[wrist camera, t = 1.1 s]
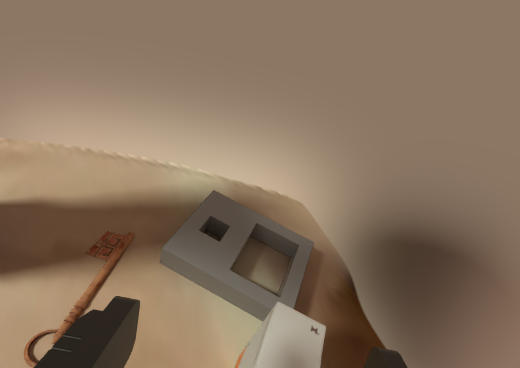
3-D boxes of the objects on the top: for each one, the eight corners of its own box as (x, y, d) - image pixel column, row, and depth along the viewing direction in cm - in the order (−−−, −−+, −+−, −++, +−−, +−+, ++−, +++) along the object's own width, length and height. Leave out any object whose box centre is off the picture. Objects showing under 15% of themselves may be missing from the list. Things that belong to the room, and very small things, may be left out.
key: (102, 228, 35) (-8, 357, 24) (101, 223, 35) (-12, 353, 23) (146, 241, 35) (59, 376, 24) (146, 236, 35) (57, 372, 23)
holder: (159, 262, 34) (161, 248, 32) (209, 204, 43) (213, 190, 41) (280, 331, 32) (290, 319, 30) (305, 254, 41) (313, 242, 39)
